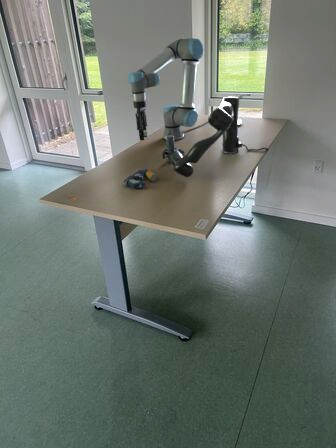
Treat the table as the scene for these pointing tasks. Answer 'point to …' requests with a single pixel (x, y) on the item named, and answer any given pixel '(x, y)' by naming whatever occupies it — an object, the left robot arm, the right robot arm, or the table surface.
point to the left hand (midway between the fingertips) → (143, 138)
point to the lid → (144, 132)
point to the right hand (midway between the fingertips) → (170, 149)
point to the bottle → (170, 144)
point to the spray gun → (139, 178)
